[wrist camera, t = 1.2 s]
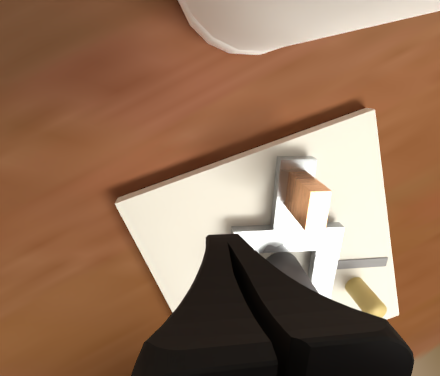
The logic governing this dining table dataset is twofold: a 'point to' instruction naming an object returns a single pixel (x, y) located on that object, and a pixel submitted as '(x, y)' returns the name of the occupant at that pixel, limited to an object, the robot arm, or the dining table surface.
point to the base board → (262, 207)
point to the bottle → (290, 20)
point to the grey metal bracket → (300, 221)
